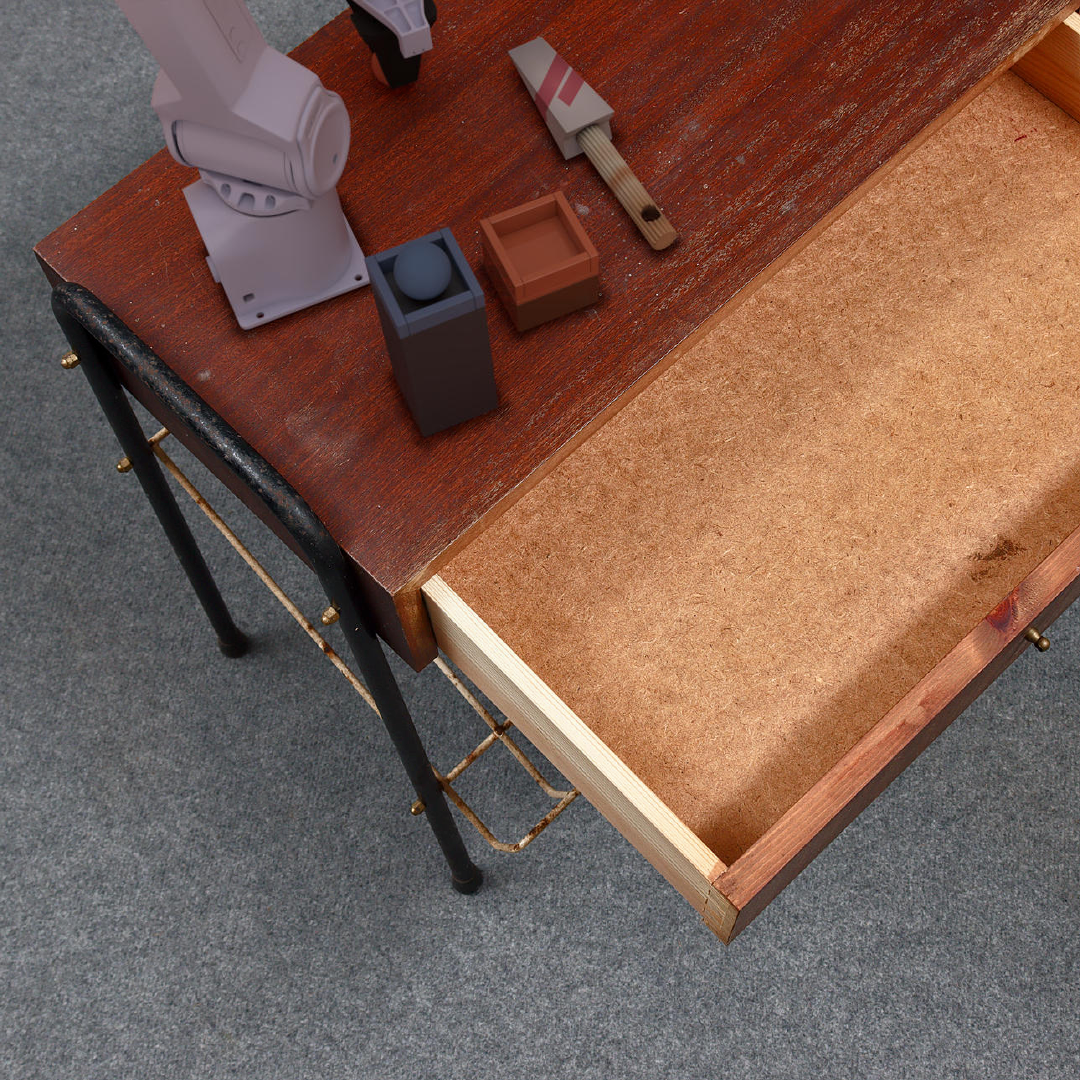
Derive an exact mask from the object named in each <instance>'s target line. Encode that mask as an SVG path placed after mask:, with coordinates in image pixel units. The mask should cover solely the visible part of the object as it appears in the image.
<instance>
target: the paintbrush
mask: <svg viewBox="0 0 1080 1080" xmlns="http://www.w3.org/2000/svg"><path fill="white" fill-rule="evenodd" d="M507 53H508V55H509V57H510V59H511V61H512V63H513V64H514V65H515V68H516V71H517V72H518V74H519V76H520V78H522V81H523V84H524V85H525V86H526V88H527V90H528V92H529V93H530V96H531V98H532V100H533V102H534V103H535V105H536V107H537V109H538V111H539V113H540V114H541V116H542V118H543V121H544V122H545V124H546V127H548V129H549V131H550V133H551V135H552V137H553V139H554V141H555V143H556V145H557V146H558V148H559V150H560V152H561V153H562V156H563V158H564V159H565V161H567V160H569V159H571V158H574V157H576V156H579V155H580V154H582V153H584V154H585V155H586V157H587V158H588V160H589V161H590V162H591V163H592V165H593V167H595V169H596V170H597V172H598V173H599V175H600V176H601V177H602V179H603V180H604V182H605V183H606V184H607V186H608V187H609V188H610V190H611V191H612V192H613V194H614V196H615V197H616V199H618V201H619V203H620V204H621V205H622V206H623V208H624V209H625V211H626V212H627V214H628V215H629V216H630V217H631V220H633V222H634V224H636V226H637V228H638V229H639V230H640V232H641V233H642V235H643V236H644V238H645V239H646V240H647V242H648V243H649V245H650V246H651V247H652V249H653V250H656V251H659V250H660V251H662V250H663V249H666V248H667V247H670V246H671V244H673V243H674V241H675V240H676V239H677V238H676V237H677V236H678V234H677V231H676V229H674V226H672V224H671V223H670V221H669V220H668V219H667V217H666V216H665V214H663V212H662V211H661V209H660V208H659V207H658V206H657V204H656V203H655V201H654V200H653V199H652V197H651V196H650V194H649V193H648V191H646V188H645V187H644V186H643V184H642V183H641V182H640V181H639V179H638V178H637V176H636V175H635V174H634V172H633V171H632V169H631V167H629V165H628V164H627V162H626V161H625V159H624V158H623V157H622V156H621V154H620V153H619V152H618V150H617V149H616V147H615V146H614V144H613V143H612V142H611V140H613V136H612V135H613V134H612V129H611V125H610V120H611V118H612V116H613V115H614V113H615V110H614V109H613V108H612V106H610V105H609V104H608V103H607V102H606V101H605V100H604V99H603V98H602V97H601V96H600V95H599V94H598V93H597V92H596V91H595V90H594V89H593V88H592V87H591V86H590V85H589V84H588V83H587V81H585V80H584V79H583V78H582V77H581V76H580V75H579V74H578V73H577V71H576V70H574V69H573V68H572V66H571V65H570V64H569V63H568V62H567V61H566V60H565V59H564V58H562V56H561V55H560V54H559V53H558V52H557V51H556V50H555V49H554V48H553V47H552V46H551V45H550V44H549V43H548V42H547V41H546V40H545V39H544V38H543V37H542V36H539V37H536V38H534V39H533V40H530V41H528V42H525V43H523V44H521V45H518V46H516V47H513V48H512V49H510V50H507ZM650 220H652V221H650Z"/></svg>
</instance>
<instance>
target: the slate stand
mask: <svg viewBox="0 0 1080 1080" xmlns="http://www.w3.org/2000/svg"><path fill="white" fill-rule="evenodd" d="M415 242H429V243H432V244H435V245H436V246H438V247H439V248H441V249H442V250H443V251H444V252H445V254H446V255H447V257H448V259H449V261H450V265H451V279H450V282H449V284H448V286H447V288H446V289H445V290H444V292H443V293H442V294H440V295H439V296H437V297H435V298H433V299H430V300H416V299H413V298H411V297H409V296H407V295H406V294H404V293H403V292H402V291H401V289H400V288H399V287H398V285H397V283H396V281H395V277H394V264H395V260H396V258H397V256H398V254H399V253H400V252H401V250H402V249H404V248H405V247H406V246H408V245H409V244H412V243H415ZM364 261H365V265H366V268H367V272H368V276H369V280H370V283H369V284H370V288H371V292H372V295H373V299H374V303H375V307H376V311H377V314H378V318H379V322H380V326H381V330H382V334H383V338H384V342H385V346H386V350H387V353H388V357H389V361H390V365H391V369H392V373H393V376H394V379H395V381H396V383H397V385H398V388H399V389H400V391H401V394H402V396H403V398H404V401H405V402H406V404H407V406H408V408H409V410H410V412H411V414H412V417H413V418H414V421H415V423H416V424H417V427H418V429H419V431H420V433H421V435H422V437H423V439H425V438H427V437H430V436H432V435H435V434H437V433H440V432H442V431H445V430H447V429H450V428H452V427H455V426H457V425H460V424H462V423H465V422H467V421H470V420H471V419H474V418H477V417H479V416H482V415H484V414H487V413H489V412H491V411H495V410H496V409H499V402H498V393H497V387H496V377H495V372H494V371H495V370H494V369H495V368H494V363H493V362H494V361H493V354H492V346H491V339H490V329H489V323H488V322H489V321H488V314H487V306H486V299H485V292H484V291H483V288H482V287H481V285H480V282H479V281H478V279H477V277H476V275H475V274H474V272H473V269H472V268H471V266H470V264H469V262H468V260H467V259H466V257H465V255H464V253H463V250H462V249H461V247H460V245H459V243H458V241H457V240H456V238H455V235H454V233H453V232H452V230H451V228H450V226H446V227H443V228H441V229H440V230H438V229H437V230H436V231H432V232H430V233H428V234H425V235H422V236H420V237H417V238H415V239H411V240H409V241H407V242H403V243H401V244H398V245H396V246H393V247H390V248H388V249H385V250H382V251H380V252H377V253H374V254H372V255H369V256H366V257H365V258H364Z"/></svg>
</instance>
